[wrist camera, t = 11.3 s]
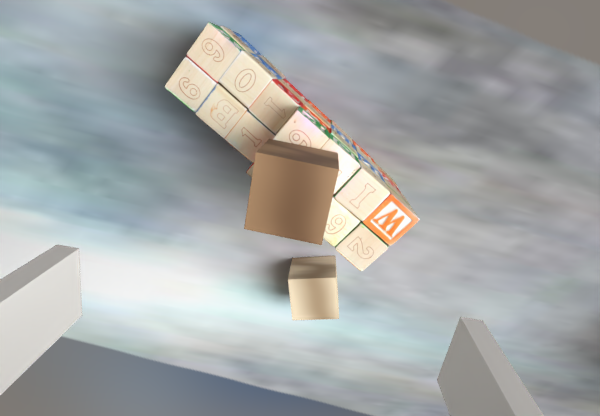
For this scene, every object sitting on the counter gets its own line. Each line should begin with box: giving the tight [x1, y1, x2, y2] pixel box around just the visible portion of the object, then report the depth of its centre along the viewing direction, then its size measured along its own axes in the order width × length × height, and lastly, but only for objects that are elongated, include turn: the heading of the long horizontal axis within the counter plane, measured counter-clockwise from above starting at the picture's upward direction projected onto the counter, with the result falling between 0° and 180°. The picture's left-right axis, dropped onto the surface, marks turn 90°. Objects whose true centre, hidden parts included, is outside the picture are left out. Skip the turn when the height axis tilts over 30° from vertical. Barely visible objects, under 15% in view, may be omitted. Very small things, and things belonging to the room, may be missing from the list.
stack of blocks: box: [165, 22, 419, 271], centre depth 33 cm, size 21×6×12 cm, turn 48°
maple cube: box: [288, 256, 339, 320], centre depth 41 cm, size 5×5×5 cm
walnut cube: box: [244, 139, 339, 245], centre depth 25 cm, size 5×5×5 cm
